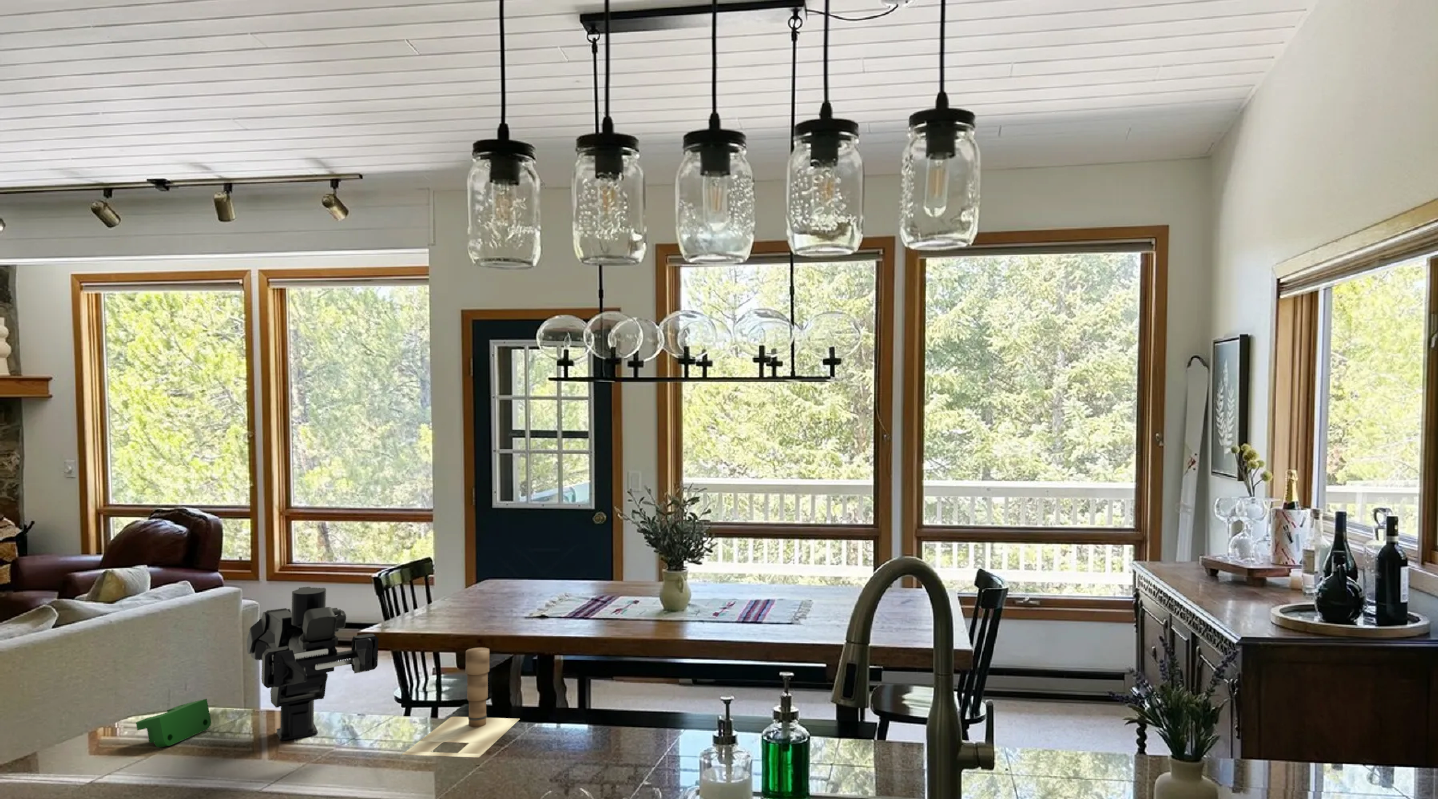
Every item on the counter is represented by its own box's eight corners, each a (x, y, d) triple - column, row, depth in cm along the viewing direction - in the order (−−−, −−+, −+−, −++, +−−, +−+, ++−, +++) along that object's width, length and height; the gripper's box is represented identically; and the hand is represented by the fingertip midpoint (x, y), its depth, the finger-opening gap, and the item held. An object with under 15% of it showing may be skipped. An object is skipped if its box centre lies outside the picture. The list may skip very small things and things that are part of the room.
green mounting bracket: (181, 754, 164) (188, 705, 168) (207, 748, 163) (213, 699, 167) (127, 750, 154) (136, 699, 158) (155, 744, 153) (163, 692, 157)
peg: (462, 723, 162) (462, 649, 163) (485, 719, 165) (485, 646, 165) (469, 730, 159) (469, 654, 159) (492, 725, 161) (492, 651, 162)
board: (401, 763, 147) (401, 754, 147) (451, 724, 167) (451, 716, 167) (478, 766, 145) (478, 757, 145) (520, 726, 165) (520, 718, 165)
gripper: (255, 612, 149) (275, 634, 137) (365, 598, 161) (392, 618, 149) (253, 674, 150) (273, 702, 137) (363, 656, 161) (390, 680, 149)
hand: (335, 673), depth 143 cm, fingers open, 9 cm apart
